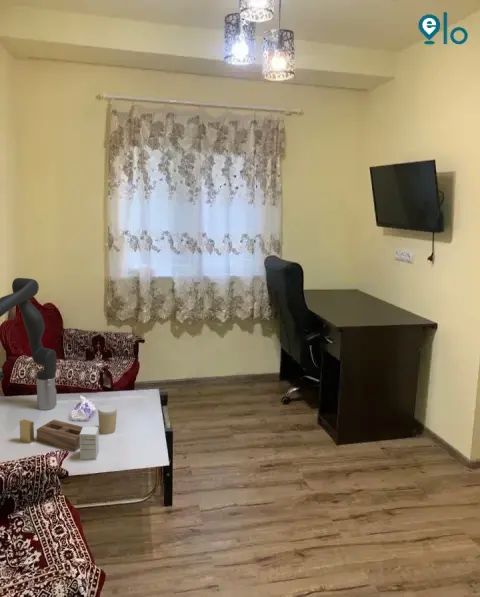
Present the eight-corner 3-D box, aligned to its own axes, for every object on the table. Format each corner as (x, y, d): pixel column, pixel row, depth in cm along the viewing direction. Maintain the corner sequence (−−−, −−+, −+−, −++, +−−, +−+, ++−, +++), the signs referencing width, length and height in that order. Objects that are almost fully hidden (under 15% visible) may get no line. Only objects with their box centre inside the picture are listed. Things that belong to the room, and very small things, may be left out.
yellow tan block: (24, 438, 250) (23, 419, 248) (34, 441, 248) (33, 421, 246) (20, 440, 248) (19, 421, 246) (30, 443, 246) (29, 423, 243)
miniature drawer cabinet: (82, 451, 241) (82, 426, 239) (99, 451, 242) (99, 426, 239) (79, 459, 234) (79, 433, 232) (96, 459, 235) (96, 434, 232)
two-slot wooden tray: (54, 430, 259) (53, 419, 258) (91, 440, 252) (91, 429, 251) (36, 440, 248) (36, 429, 247) (75, 451, 241) (74, 439, 240)
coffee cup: (120, 428, 265) (120, 406, 263) (110, 436, 257) (110, 413, 254) (104, 425, 268) (104, 403, 266) (94, 432, 260) (94, 410, 257)
